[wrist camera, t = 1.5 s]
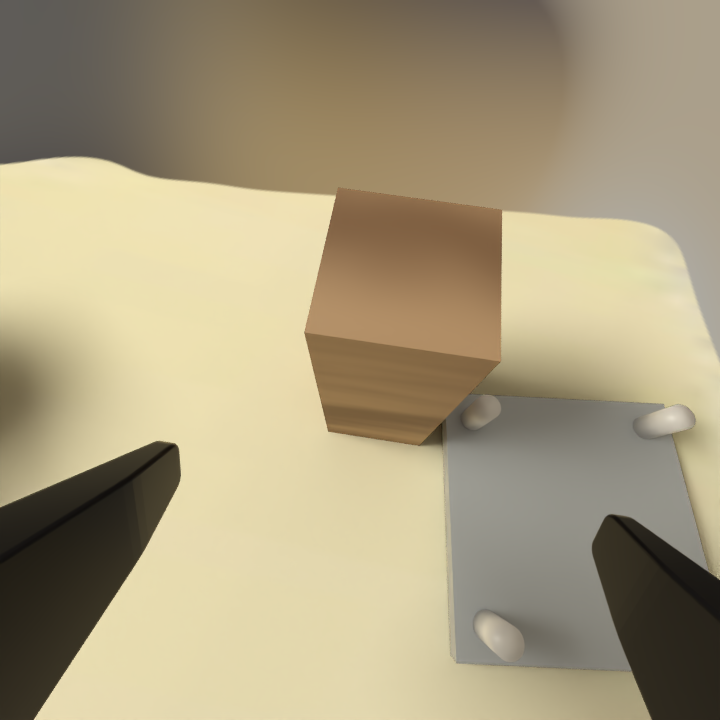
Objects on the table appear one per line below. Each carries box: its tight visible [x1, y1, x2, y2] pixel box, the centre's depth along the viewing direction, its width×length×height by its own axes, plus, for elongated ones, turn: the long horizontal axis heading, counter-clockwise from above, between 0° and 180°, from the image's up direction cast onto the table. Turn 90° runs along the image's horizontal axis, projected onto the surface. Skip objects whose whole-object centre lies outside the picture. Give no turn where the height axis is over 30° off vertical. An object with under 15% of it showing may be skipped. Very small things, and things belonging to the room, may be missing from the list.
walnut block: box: [304, 188, 502, 446], centre depth 16 cm, size 5×5×12 cm
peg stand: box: [442, 394, 709, 671], centre depth 18 cm, size 12×12×4 cm
